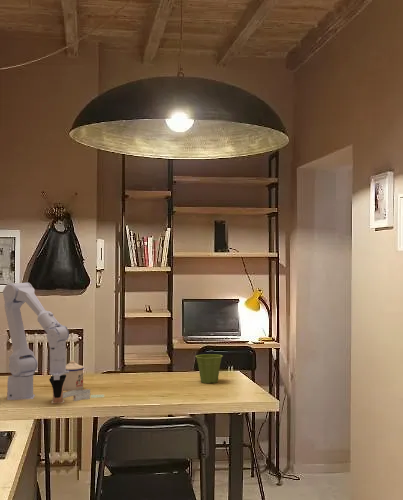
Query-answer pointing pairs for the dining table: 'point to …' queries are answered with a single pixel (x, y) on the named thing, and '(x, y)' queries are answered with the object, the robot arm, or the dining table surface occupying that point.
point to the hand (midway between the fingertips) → (57, 396)
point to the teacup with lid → (73, 377)
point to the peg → (57, 400)
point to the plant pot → (209, 367)
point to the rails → (77, 394)
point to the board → (91, 397)
